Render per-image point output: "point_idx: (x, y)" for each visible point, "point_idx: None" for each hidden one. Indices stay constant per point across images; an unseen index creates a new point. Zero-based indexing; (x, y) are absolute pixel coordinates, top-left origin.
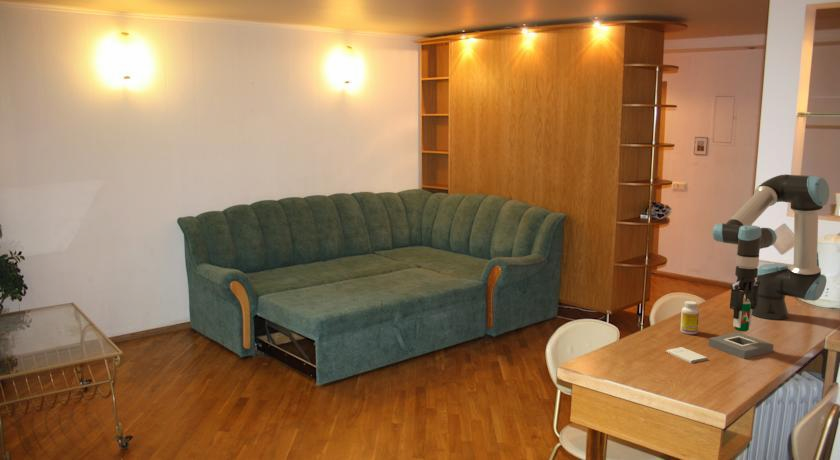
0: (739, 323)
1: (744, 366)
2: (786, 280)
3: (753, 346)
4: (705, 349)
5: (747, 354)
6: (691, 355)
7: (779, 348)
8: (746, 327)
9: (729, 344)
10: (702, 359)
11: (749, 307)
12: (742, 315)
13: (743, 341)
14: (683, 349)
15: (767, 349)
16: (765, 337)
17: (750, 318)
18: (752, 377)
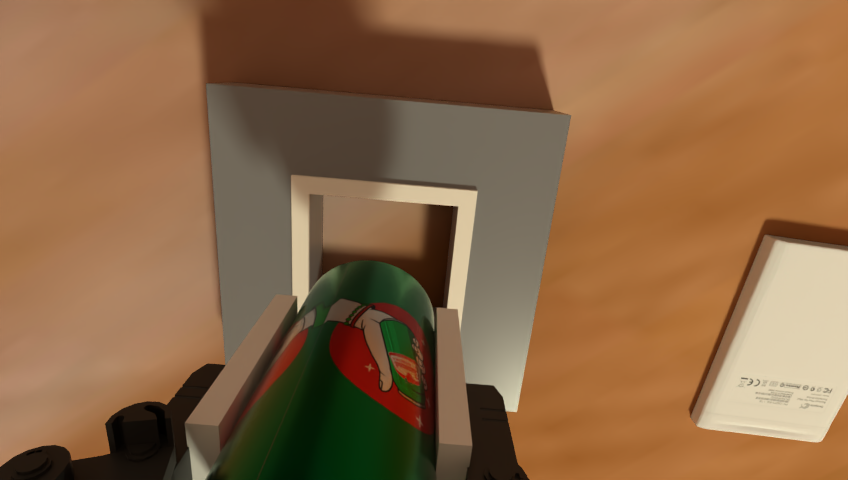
0: (459, 335)
1: (704, 11)
2: None
3: (403, 145)
4: (587, 349)
5: (527, 109)
6: (821, 315)
7: (120, 101)
8: (385, 275)
9: (519, 270)
10: (819, 244)
11: (311, 439)
12: (421, 389)
13: (313, 279)
14: (740, 400)
15: (290, 89)
16: (30, 286)
17: (263, 337)
18: None
